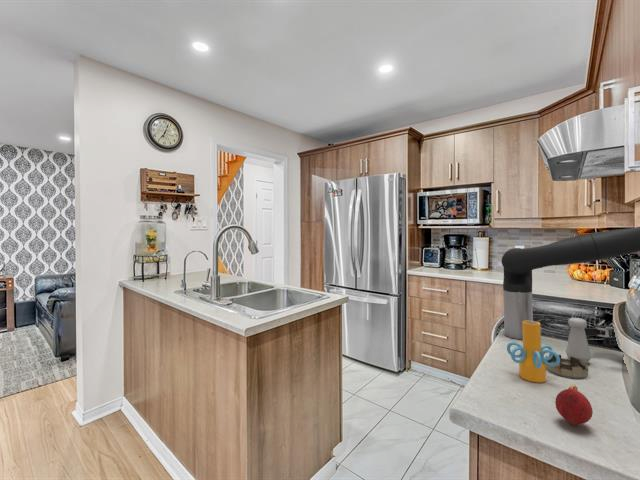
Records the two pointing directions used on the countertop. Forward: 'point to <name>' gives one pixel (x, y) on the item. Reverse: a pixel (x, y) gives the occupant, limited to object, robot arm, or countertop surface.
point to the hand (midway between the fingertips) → (593, 336)
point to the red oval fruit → (573, 406)
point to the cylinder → (532, 353)
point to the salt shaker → (578, 340)
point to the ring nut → (568, 368)
